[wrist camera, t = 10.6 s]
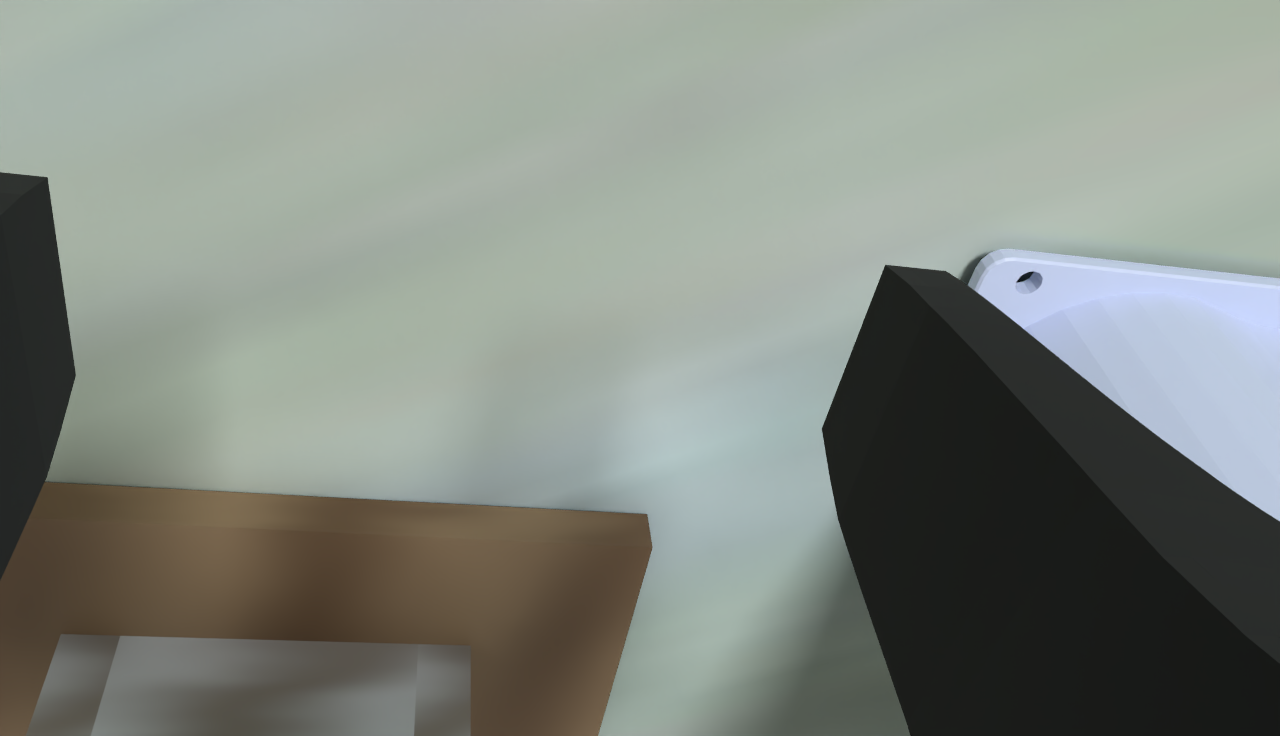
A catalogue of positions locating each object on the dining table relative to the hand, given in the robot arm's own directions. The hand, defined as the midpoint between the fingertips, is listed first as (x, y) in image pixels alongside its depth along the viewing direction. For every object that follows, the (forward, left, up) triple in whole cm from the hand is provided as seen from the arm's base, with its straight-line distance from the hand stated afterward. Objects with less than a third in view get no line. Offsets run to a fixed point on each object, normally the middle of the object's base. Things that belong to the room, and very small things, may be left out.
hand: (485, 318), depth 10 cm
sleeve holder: (+3, +20, -9) cm, 22 cm away
